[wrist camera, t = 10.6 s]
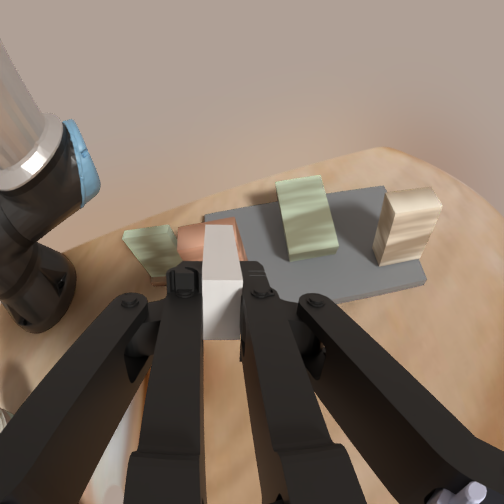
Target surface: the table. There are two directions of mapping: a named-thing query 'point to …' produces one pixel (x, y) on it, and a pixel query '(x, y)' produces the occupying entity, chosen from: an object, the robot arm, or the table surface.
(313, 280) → the board
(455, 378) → the table surface
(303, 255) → the sage flap
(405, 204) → the cream flap
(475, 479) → the robot arm
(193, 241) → the terracotta flap
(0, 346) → the table surface
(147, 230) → the card
